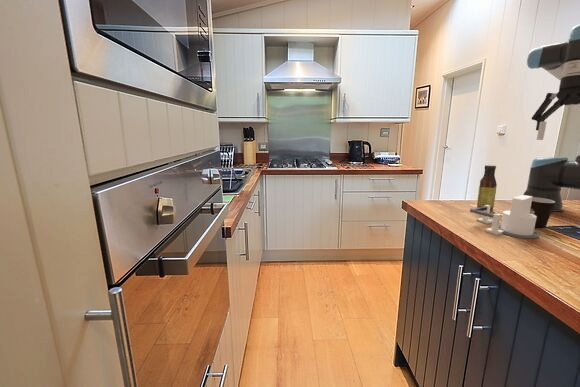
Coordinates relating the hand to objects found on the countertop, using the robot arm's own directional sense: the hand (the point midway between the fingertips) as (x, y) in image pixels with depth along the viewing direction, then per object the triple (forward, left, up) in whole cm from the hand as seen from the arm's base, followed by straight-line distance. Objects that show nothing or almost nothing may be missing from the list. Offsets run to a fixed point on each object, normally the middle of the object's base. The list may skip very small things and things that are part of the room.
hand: (563, 140), depth 98 cm
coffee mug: (+3, -3, -32) cm, 32 cm away
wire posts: (+20, -8, -31) cm, 38 cm away
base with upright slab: (+18, 0, -31) cm, 36 cm away
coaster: (+18, 0, -31) cm, 36 cm away
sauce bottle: (-1, -23, -32) cm, 39 cm away
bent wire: (+20, -8, -26) cm, 34 cm away
